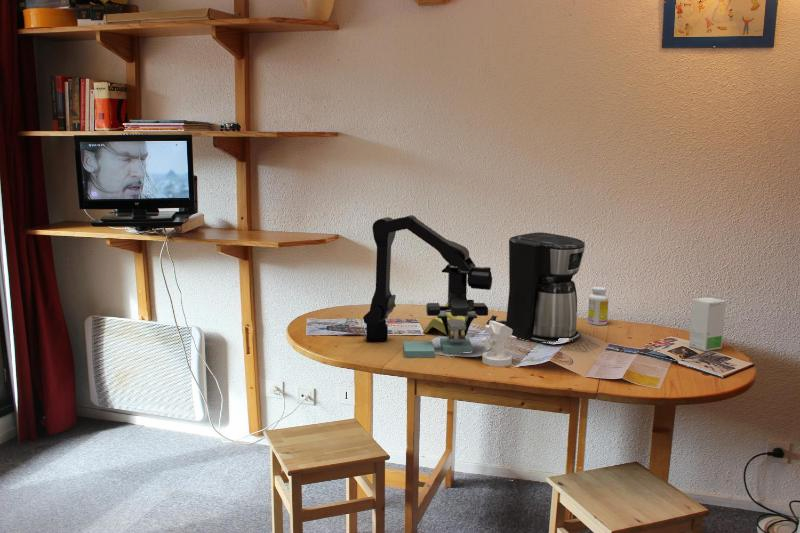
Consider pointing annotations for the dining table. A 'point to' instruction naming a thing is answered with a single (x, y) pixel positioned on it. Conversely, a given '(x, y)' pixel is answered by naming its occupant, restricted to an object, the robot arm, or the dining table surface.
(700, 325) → the skincare box
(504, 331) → the character figurine
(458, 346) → the stand right
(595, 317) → the supplement bottle
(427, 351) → the stand left
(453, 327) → the housing
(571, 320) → the coffee maker
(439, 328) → the plastic component
